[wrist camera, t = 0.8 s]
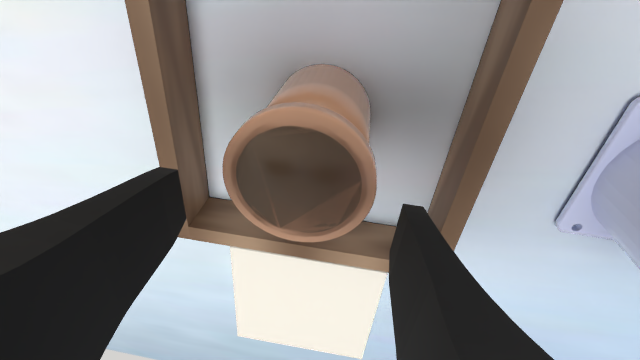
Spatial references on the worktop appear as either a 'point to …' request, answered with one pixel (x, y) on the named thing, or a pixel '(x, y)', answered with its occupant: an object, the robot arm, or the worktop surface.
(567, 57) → the worktop surface
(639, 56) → the worktop surface
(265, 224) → the terracotta pot
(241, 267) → the ceramic tile
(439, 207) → the box
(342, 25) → the worktop surface
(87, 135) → the worktop surface
